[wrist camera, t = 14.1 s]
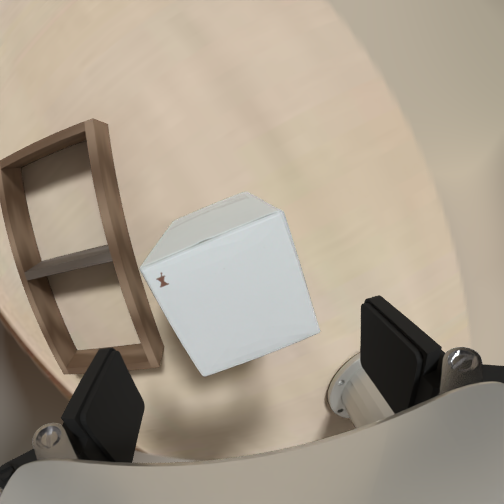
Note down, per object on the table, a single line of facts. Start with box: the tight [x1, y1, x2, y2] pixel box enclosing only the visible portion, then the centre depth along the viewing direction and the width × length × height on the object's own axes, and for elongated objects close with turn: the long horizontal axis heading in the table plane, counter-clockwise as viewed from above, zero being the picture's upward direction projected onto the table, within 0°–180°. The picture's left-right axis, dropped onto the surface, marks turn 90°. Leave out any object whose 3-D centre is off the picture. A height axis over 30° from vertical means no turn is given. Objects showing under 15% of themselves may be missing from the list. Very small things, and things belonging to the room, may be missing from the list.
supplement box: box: [140, 191, 320, 377], centre depth 20 cm, size 7×7×13 cm
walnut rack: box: [0, 119, 164, 374], centre depth 23 cm, size 22×12×4 cm, turn 10°
